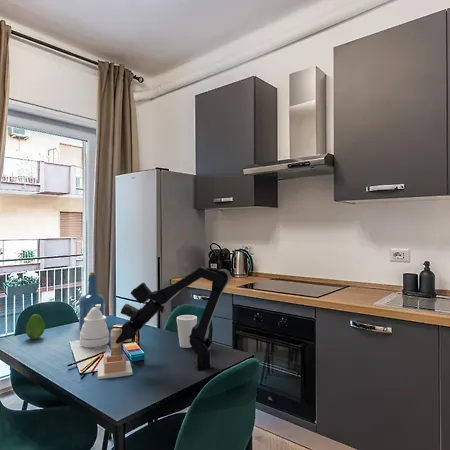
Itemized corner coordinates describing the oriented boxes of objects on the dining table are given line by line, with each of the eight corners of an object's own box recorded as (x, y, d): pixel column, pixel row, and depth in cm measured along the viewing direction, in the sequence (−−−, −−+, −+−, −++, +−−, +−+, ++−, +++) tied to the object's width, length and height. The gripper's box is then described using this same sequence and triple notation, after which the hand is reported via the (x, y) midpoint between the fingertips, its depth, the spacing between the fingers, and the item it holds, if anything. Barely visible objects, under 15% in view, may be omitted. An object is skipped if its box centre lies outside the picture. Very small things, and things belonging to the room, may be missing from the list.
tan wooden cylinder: (121, 363, 145) (121, 330, 145) (110, 364, 143) (111, 331, 143) (120, 360, 148) (120, 328, 149) (110, 361, 147) (110, 329, 147)
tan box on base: (132, 374, 133) (132, 362, 134) (97, 379, 129) (98, 366, 129) (129, 363, 145) (129, 352, 145) (97, 367, 141) (97, 355, 141)
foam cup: (198, 342, 171) (198, 315, 171) (195, 349, 162) (195, 320, 162) (178, 342, 172) (179, 314, 172) (174, 348, 163) (174, 319, 163)
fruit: (35, 341, 171) (35, 316, 171) (22, 340, 174) (22, 315, 174) (48, 337, 179) (48, 312, 179) (35, 335, 181) (35, 311, 181)
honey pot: (114, 340, 174) (114, 303, 174) (96, 348, 162) (96, 308, 162) (92, 337, 179) (92, 301, 179) (73, 345, 166) (73, 306, 167)
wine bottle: (102, 330, 191) (102, 273, 192) (76, 331, 190) (76, 273, 190) (107, 323, 205) (107, 270, 205) (82, 324, 203) (83, 270, 203)
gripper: (139, 293, 155) (112, 319, 155) (127, 302, 137) (97, 331, 137) (157, 312, 155) (130, 337, 155) (147, 323, 137) (118, 352, 137)
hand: (119, 339), depth 146 cm, fingers open, 9 cm apart
